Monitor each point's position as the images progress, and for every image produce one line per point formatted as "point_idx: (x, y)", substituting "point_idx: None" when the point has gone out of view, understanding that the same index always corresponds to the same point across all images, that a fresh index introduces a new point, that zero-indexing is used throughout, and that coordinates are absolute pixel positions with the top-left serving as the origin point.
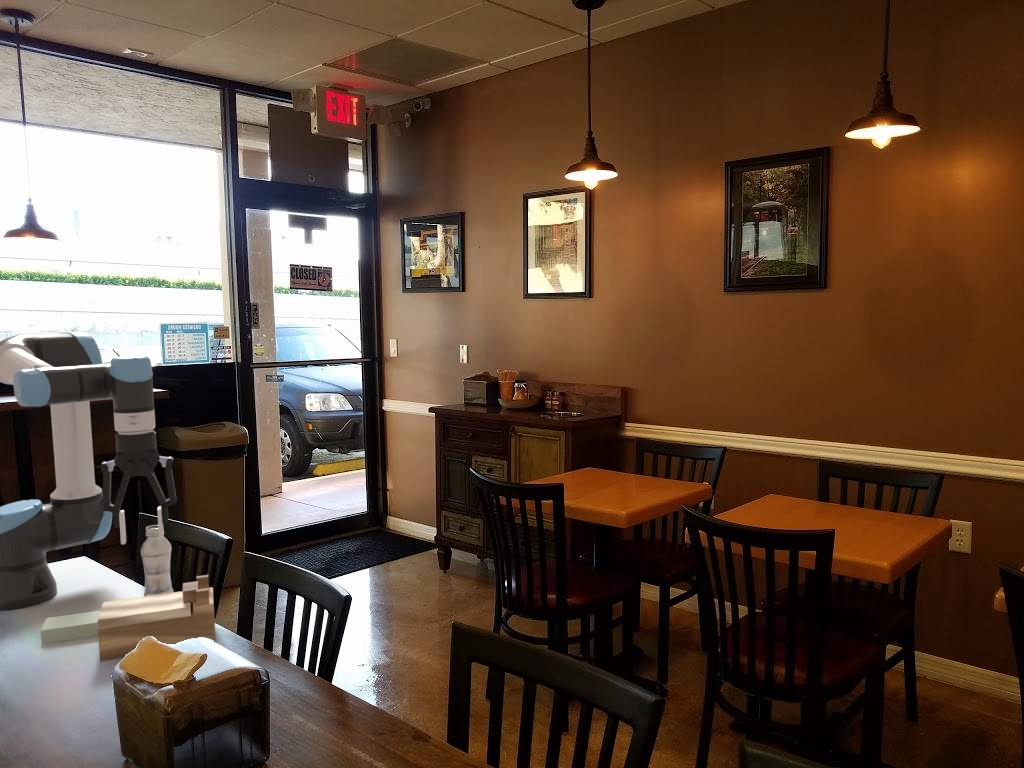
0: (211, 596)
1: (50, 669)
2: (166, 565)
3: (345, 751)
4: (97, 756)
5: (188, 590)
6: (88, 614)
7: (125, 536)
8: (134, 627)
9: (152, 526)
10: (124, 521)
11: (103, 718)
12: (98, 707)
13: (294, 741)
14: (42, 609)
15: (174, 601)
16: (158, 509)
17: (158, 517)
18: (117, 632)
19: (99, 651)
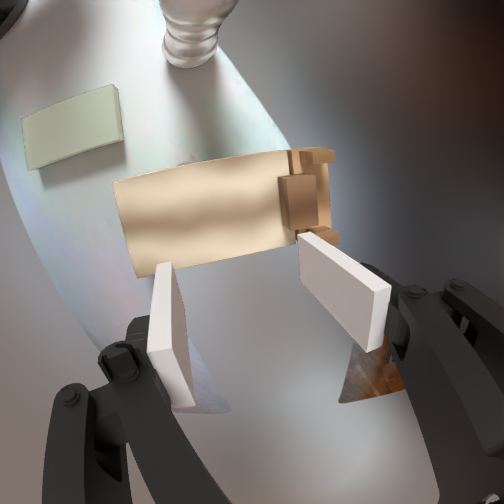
0: (327, 200)
1: (84, 258)
2: (220, 25)
3: (371, 393)
4: (220, 411)
5: (302, 228)
6: (77, 106)
7: (177, 292)
8: None
9: None
10: (178, 331)
11: (203, 372)
12: (190, 355)
13: (350, 390)
14: (15, 44)
15: (263, 209)
16: (371, 347)
17: (348, 328)
18: None
19: None
